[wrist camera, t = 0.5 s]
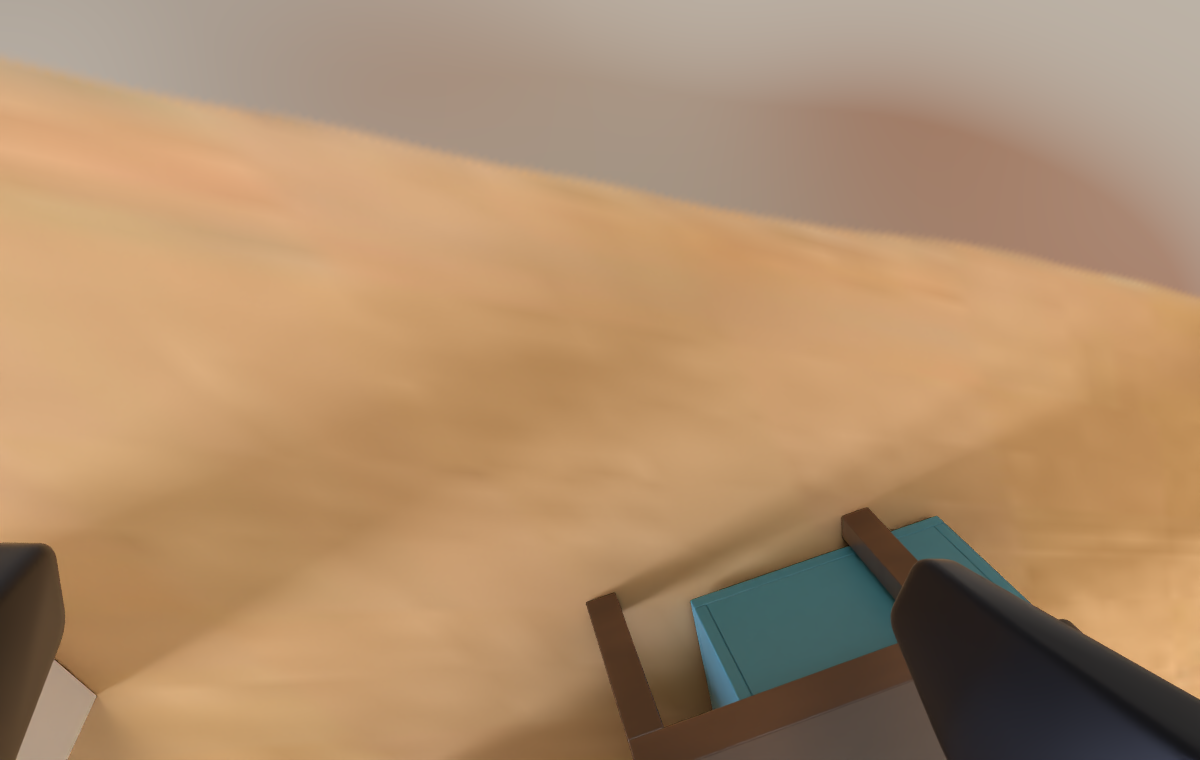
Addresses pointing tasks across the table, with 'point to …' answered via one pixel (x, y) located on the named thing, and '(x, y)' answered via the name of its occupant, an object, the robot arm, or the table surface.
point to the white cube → (57, 717)
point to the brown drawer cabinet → (787, 691)
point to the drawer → (811, 615)
